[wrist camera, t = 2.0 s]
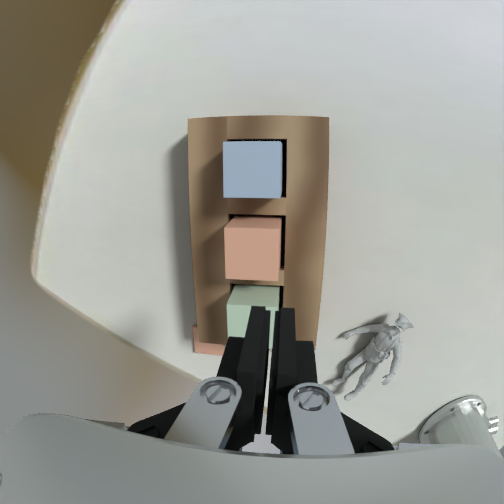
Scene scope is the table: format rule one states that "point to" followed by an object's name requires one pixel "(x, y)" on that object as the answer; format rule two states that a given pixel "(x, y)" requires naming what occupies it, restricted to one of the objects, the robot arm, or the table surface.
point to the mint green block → (242, 303)
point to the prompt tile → (206, 345)
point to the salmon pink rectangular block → (253, 247)
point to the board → (292, 205)
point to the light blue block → (252, 169)
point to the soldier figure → (375, 352)
